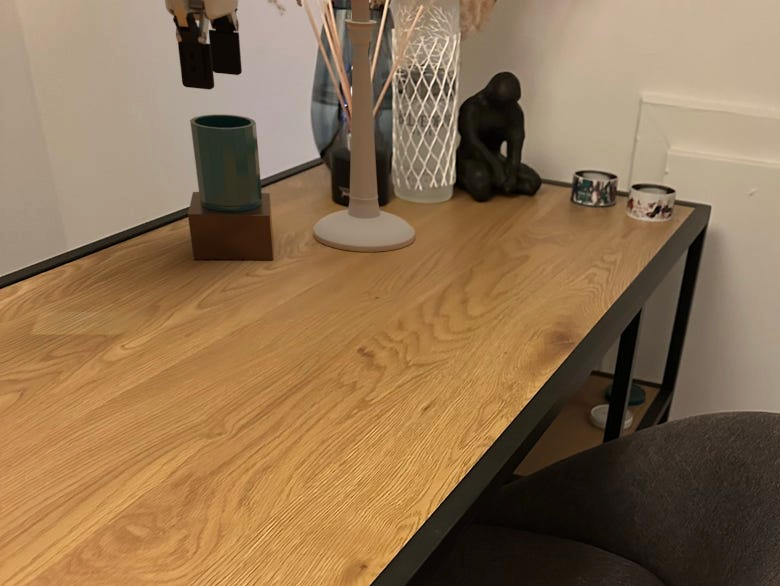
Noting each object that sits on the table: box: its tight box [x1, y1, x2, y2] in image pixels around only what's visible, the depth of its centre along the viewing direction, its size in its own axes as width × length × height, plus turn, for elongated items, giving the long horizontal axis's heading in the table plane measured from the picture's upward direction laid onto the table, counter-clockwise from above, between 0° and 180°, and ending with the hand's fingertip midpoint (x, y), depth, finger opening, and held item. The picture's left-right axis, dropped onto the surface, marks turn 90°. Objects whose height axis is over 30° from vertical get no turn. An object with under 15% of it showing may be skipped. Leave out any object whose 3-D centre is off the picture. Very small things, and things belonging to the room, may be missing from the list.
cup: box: [189, 114, 263, 212], centre depth 106 cm, size 7×7×8 cm
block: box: [187, 191, 274, 261], centre depth 110 cm, size 9×9×5 cm
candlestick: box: [312, 0, 416, 253], centre depth 109 cm, size 13×13×30 cm
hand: (213, 80), depth 101 cm, fingers open, 9 cm apart
